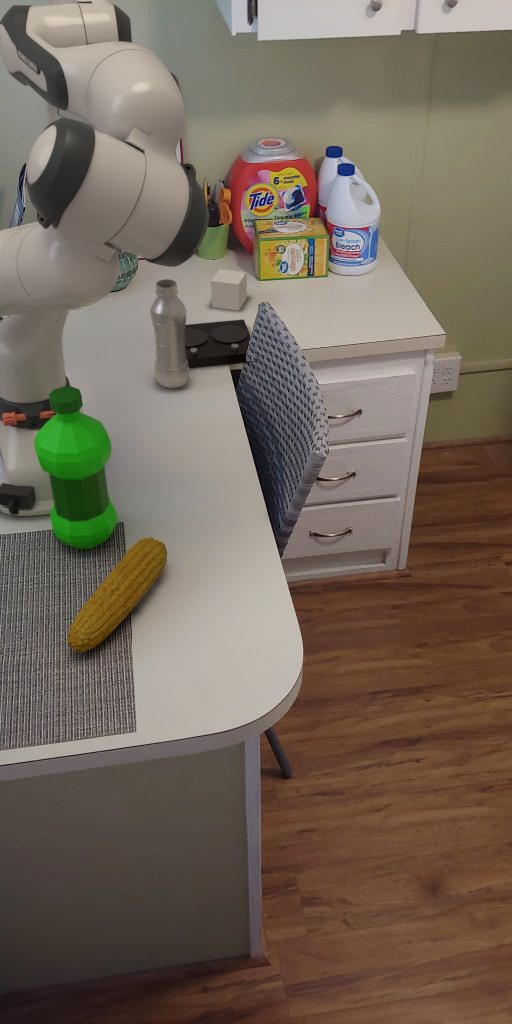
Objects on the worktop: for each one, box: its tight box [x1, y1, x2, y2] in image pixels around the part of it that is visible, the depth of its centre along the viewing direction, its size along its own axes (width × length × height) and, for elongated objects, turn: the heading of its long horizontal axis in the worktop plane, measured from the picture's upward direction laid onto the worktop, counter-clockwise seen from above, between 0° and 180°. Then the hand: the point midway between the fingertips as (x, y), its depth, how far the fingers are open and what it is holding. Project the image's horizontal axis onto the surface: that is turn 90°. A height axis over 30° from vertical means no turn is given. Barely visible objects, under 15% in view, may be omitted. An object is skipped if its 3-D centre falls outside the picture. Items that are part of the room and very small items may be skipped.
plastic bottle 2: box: [149, 278, 191, 389], centre depth 168 cm, size 6×7×20 cm
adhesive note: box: [210, 268, 248, 311], centre depth 198 cm, size 6×6×6 cm
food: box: [66, 536, 168, 653], centre depth 125 cm, size 21×6×6 cm, turn 156°
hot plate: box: [185, 318, 252, 369], centre depth 183 cm, size 14×16×3 cm
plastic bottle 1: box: [34, 386, 119, 550], centre depth 131 cm, size 10×10×25 cm
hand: (99, 177), depth 152 cm, fingers open, 8 cm apart
